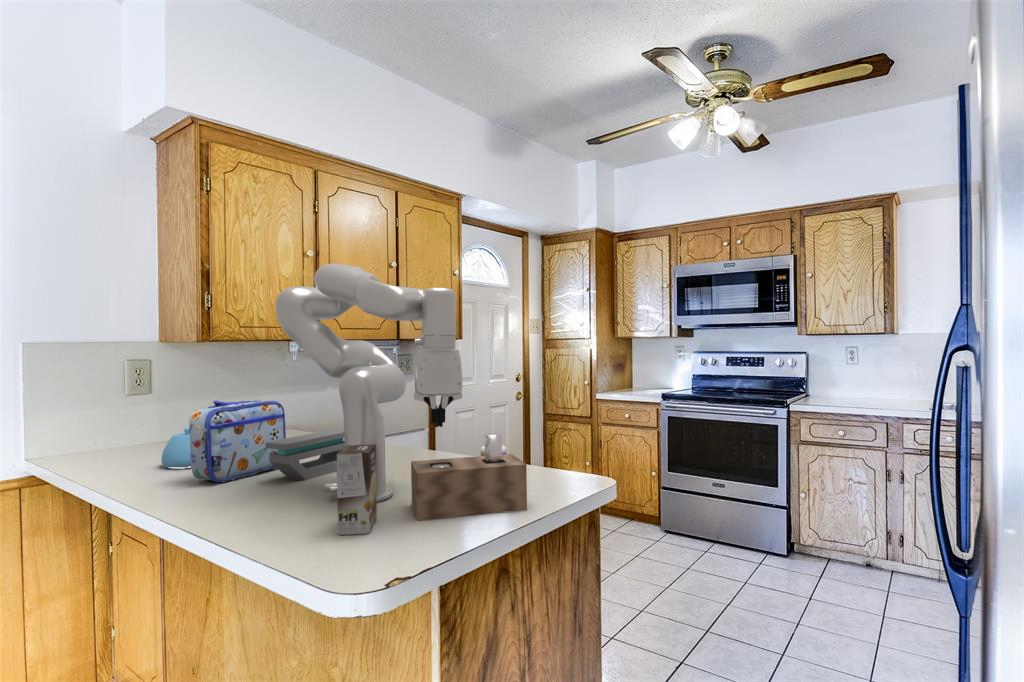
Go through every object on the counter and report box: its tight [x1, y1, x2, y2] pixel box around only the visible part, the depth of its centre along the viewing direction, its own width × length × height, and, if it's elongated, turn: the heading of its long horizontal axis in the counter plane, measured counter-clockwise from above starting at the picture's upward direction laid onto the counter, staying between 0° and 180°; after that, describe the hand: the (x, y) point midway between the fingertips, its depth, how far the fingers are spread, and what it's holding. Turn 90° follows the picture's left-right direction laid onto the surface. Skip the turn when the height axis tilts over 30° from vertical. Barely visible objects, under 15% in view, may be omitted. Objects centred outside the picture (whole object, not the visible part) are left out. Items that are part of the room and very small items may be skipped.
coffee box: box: [336, 444, 378, 536], centre depth 114 cm, size 9×6×16 cm
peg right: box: [483, 432, 503, 464], centre depth 128 cm, size 4×4×9 cm
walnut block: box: [410, 453, 528, 522], centre depth 126 cm, size 24×12×10 cm, turn 106°
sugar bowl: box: [161, 427, 191, 467], centre depth 175 cm, size 15×15×12 cm
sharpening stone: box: [266, 428, 344, 481], centre depth 161 cm, size 25×8×11 cm, turn 152°
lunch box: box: [188, 399, 287, 483], centre depth 160 cm, size 28×10×22 cm, turn 154°
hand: (438, 425), depth 125 cm, fingers closed
